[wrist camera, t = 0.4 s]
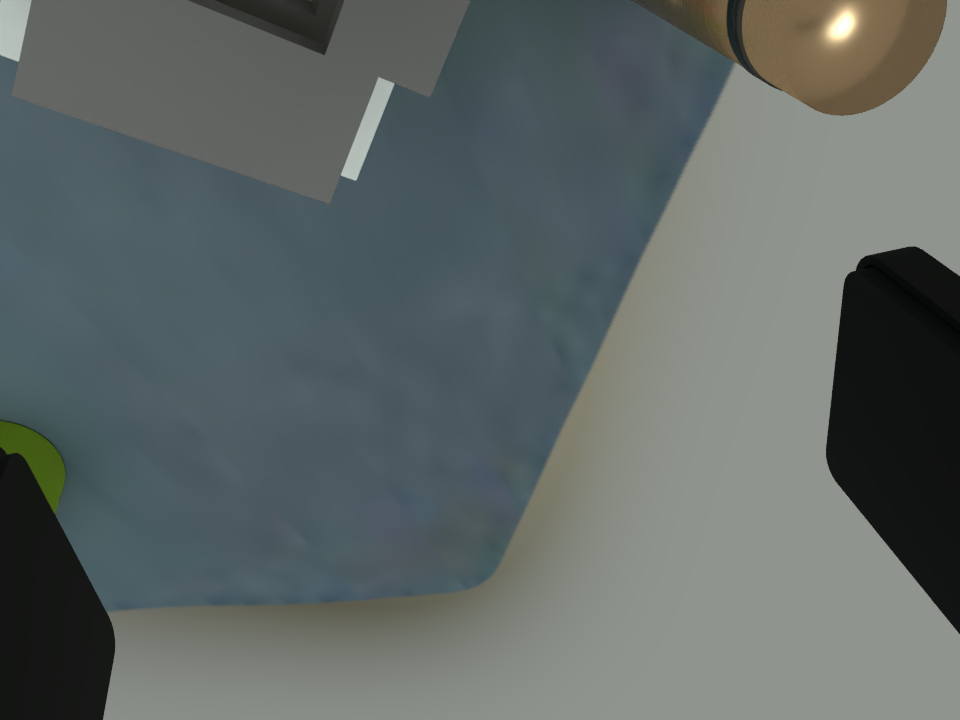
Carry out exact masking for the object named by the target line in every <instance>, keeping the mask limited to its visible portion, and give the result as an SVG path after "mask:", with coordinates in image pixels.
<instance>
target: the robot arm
mask: <svg viewBox="0 0 960 720" xmlns="http://www.w3.org/2000/svg"><path fill="white" fill-rule="evenodd" d="M826 458H827V463H828V466H829V469H830V472H831V474H832V476H833V477H834V479H835V481H836V482H837V484H838V485H839V486H840V487H841V488H842V490H843V491H844V492H845V493H846V495H847V496H848V497H849V498H850V500H851V501H852V502H853V503H854V504H855V506H856V507H857V508H858V509H859V511H860V512H861V513H862V514H863V515H864V517H865V518H866V519H867V520H868V522H869V523H870V524H871V525H872V527H873V528H874V529H875V530H876V532H877V533H878V534H879V535H880V537H881V538H882V539H883V540H884V541H885V543H886V544H887V545H888V546H889V548H890V549H891V550H892V551H893V552H894V554H895V555H896V556H897V557H898V559H899V560H900V561H901V562H902V564H903V565H904V566H905V567H906V569H907V570H908V571H909V572H910V573H911V575H912V576H913V577H914V578H915V580H916V581H917V582H918V583H919V585H920V586H921V587H922V588H923V589H924V591H925V592H926V593H927V594H928V596H929V597H930V598H931V599H932V601H933V602H934V603H935V604H936V605H937V607H938V608H939V609H940V610H941V612H942V613H943V614H944V615H945V616H946V618H947V619H948V620H949V621H950V623H951V624H952V625H953V626H954V627H955V629H956V630H957V631H958V633H959V634H960V276H958V275H957V274H956V273H954V272H953V271H952V270H950V269H949V268H947V267H946V266H944V265H943V264H942V263H940V262H939V261H937V260H936V259H935V258H933V257H932V256H930V255H929V254H928V253H926V252H925V251H923V250H922V249H920V248H917V247H906V248H901V249H896V250H891V251H887V252H882V253H878V254H873V255H868V256H865V257H864V258H862V259H861V260H860V262H859V263H858V265H857V268H856V271H853V272H851V273H849V274H848V275H847V277H846V279H845V282H844V289H843V298H842V307H841V316H840V325H839V335H838V343H837V353H836V362H835V371H834V381H833V390H832V399H831V408H830V418H829V427H828V436H827V445H826ZM114 654H115V637H114V631H113V627H112V623H111V621H110V618H109V616H108V614H107V612H106V611H105V609H104V607H103V605H102V603H101V601H100V599H99V597H98V595H97V593H96V592H95V590H94V588H93V586H92V584H91V582H90V580H89V578H88V576H87V575H86V573H85V571H84V569H83V567H82V565H81V563H80V561H79V559H78V557H77V556H76V554H75V552H74V550H73V548H72V546H71V544H70V542H69V540H68V539H67V537H66V535H65V533H64V531H63V529H62V527H61V525H60V523H59V521H58V520H57V518H56V516H55V514H54V512H53V510H52V508H51V506H50V504H49V503H48V501H47V499H46V497H45V495H44V493H43V491H42V489H41V487H40V485H39V484H38V482H37V480H36V478H35V476H34V474H33V472H32V470H31V468H30V467H29V465H28V463H27V461H26V460H25V458H24V457H23V456H22V455H20V454H19V453H12V454H6V452H5V451H4V450H3V449H2V448H1V447H0V720H103V715H104V710H105V704H106V699H107V693H108V687H109V682H110V676H111V671H112V665H113V659H114Z"/></svg>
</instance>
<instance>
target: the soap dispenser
mask: <svg viewBox="0 0 960 720" xmlns="http://www.w3.org/2000/svg"><path fill="white" fill-rule="evenodd" d="M0 447H1V448H2V449H3V450H4V451H5V452H6V454H12V453H19V454H20V455H22V456H23V457H24V458H25V460H26V461H27V463H28V465H29V467H30V468H31V470H32V472H33V474H34V476H35V478H36V480H37V482H38V484H39V485H40V487H41V489H42V491H43V493H44V495H45V497H46V499H47V501H48V503H49V504H50V506H51V508H52V510H53V512H54V514H55V513H56V510H57V507H58V503H59V500H60V496H61V493H62V489H63V486H64V482H65V467H64V463H63V460H62V458H61V456H60V454H59V453H58V451H57V450H56V449H55V447H54V446H53V445H52V444H51V443H50V442H49V441H48V440H47V439H45V438H44V437H43V436H41V435H40V434H38V433H36V432H35V431H33V430H31V429H28V428H26V427H24V426H21V425H18V424H14V423H10V422H4V421H0Z"/></svg>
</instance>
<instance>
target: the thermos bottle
mask: <svg viewBox="0 0 960 720" xmlns="http://www.w3.org/2000/svg"><path fill="white" fill-rule="evenodd" d="M632 1H633V2H635V3H637V4H638V5H640V6H642V7H644V8H645V9H647V10H649V11H650V12H652V13H654V14H655V15H657V16H659V17H660V18H662V19H664V20H665V21H667V22H669V23H670V24H672V25H674V26H675V27H677V28H679V29H680V30H682V31H684V32H685V33H687V34H689V35H690V36H692V37H694V38H695V39H697V40H699V41H700V42H702V43H704V44H705V45H707V46H709V47H711V48H712V49H714V50H716V51H717V52H719V53H721V54H722V55H724V56H726V57H727V58H729V59H731V60H732V61H734V62H736V63H737V64H739V65H741V66H743V67H744V68H745V69H746V70H747V71H748V72H749V73H751V74H752V75H754V76H755V77H757V78H759V79H760V80H762V81H763V82H765V83H767V84H768V85H770V86H772V87H774V88H776V89H779V90H781V91H784V92H786V93H788V94H789V95H791V96H793V97H794V98H796V99H798V100H799V101H801V102H803V103H804V104H806V105H808V106H809V107H811V108H813V109H815V110H817V111H819V112H822V113H826V114H830V115H842V116H844V115H853V114H857V113H862V112H865V111H868V110H871V109H874V108H876V107H878V106H880V105H882V104H884V103H885V102H887V101H888V100H890V99H892V98H893V97H894V96H896V95H897V94H898V93H900V92H901V91H902V90H903V89H904V88H905V87H906V86H907V85H908V84H910V83H911V82H912V81H913V79H914V78H915V77H916V76H917V75H918V74H919V72H920V71H921V69H922V68H923V67H924V66H925V64H926V63H927V61H928V59H929V58H930V56H931V54H932V53H933V51H934V48H935V46H936V44H937V42H938V40H939V37H940V34H941V31H942V29H943V25H944V21H945V16H946V8H947V0H632Z"/></svg>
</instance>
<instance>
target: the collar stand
mask: <svg viewBox="0 0 960 720" xmlns="http://www.w3.org/2000/svg"><path fill="white" fill-rule="evenodd" d="M469 3H470V0H1V1H0V55H2V56H4V57H7V58H10V59H13V60H16V61H19V63H18V68H17V73H16V77H15V82H14V87H13V92H12V97H15V98H18V99H21V100H24V101H27V102H30V103H33V104H36V105H39V106H42V107H45V108H48V109H51V110H54V111H56V112H59V113H62V114H65V115H68V116H71V117H74V118H77V119H80V120H83V121H86V122H89V123H92V124H95V125H98V126H101V127H104V128H107V129H110V130H112V131H115V132H118V133H121V134H124V135H127V136H130V137H133V138H136V139H139V140H142V141H145V142H148V143H151V144H154V145H157V146H160V147H163V148H166V149H168V150H171V151H174V152H177V153H180V154H183V155H186V156H189V157H192V158H195V159H198V160H201V161H204V162H207V163H210V164H213V165H216V166H219V167H222V168H224V169H227V170H230V171H233V172H236V173H239V174H242V175H245V176H248V177H251V178H254V179H257V180H260V181H263V182H266V183H269V184H272V185H275V186H278V187H281V188H283V189H286V190H289V191H292V192H295V193H298V194H301V195H304V196H307V197H310V198H313V199H316V200H319V201H322V202H325V203H328V204H330V202H331V199H332V196H333V194H334V191H335V189H336V186H337V183H338V181H339V178H340V176H344V177H347V178H350V179H353V180H355V181H356V180H357V177H358V175H359V172H360V170H361V167H362V165H363V162H364V160H365V157H366V155H367V152H368V150H369V147H370V144H371V142H372V139H373V137H374V134H375V132H376V129H377V127H378V124H379V122H380V119H381V117H382V114H383V112H384V109H385V107H386V104H387V101H388V99H389V96H390V94H391V91H392V89H393V86H394V84H397V85H400V86H402V87H405V88H407V89H409V90H412V91H414V92H417V93H419V94H422V95H424V96H427V97H429V98H430V97H431V94H432V92H433V89H434V87H435V85H436V82H437V80H438V77H439V75H440V73H441V70H442V68H443V65H444V63H445V60H446V58H447V56H448V53H449V51H450V48H451V46H452V44H453V41H454V39H455V36H456V34H457V32H458V29H459V27H460V24H461V22H462V20H463V17H464V15H465V12H466V10H467V8H468V5H469Z"/></svg>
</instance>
